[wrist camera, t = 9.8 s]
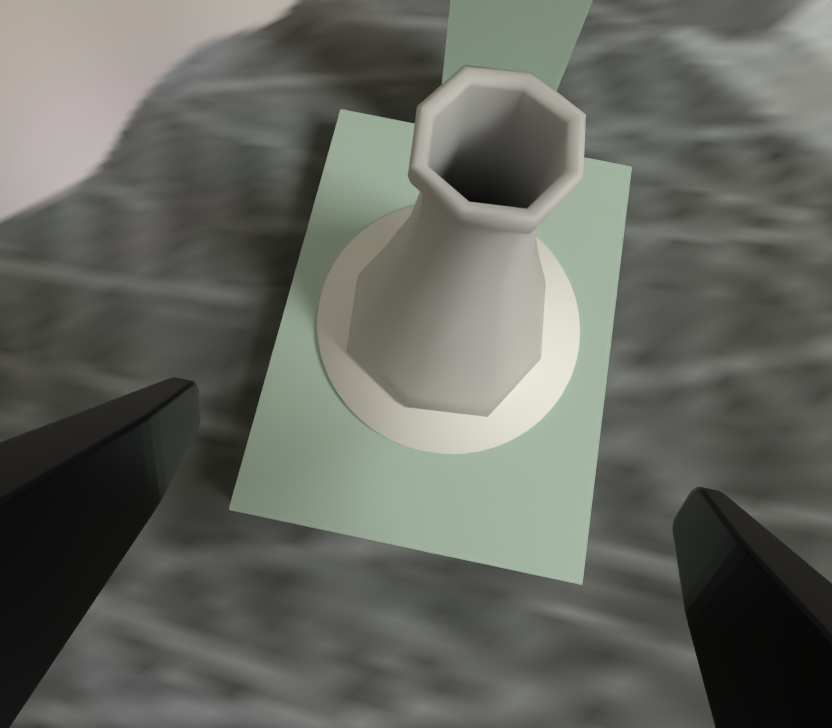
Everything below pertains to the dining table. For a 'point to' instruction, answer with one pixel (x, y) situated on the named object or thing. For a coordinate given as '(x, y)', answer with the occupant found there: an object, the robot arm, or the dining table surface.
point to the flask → (469, 244)
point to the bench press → (427, 429)
